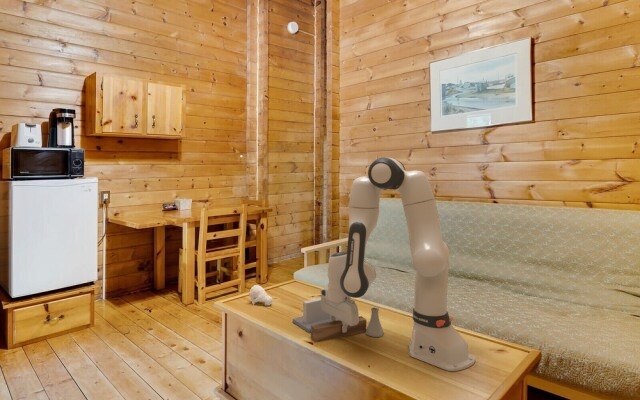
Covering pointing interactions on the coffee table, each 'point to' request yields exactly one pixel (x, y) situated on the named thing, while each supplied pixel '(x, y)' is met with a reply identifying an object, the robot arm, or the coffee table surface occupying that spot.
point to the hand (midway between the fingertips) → (339, 329)
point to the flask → (374, 324)
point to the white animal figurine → (259, 295)
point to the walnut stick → (335, 329)
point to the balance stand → (312, 315)
